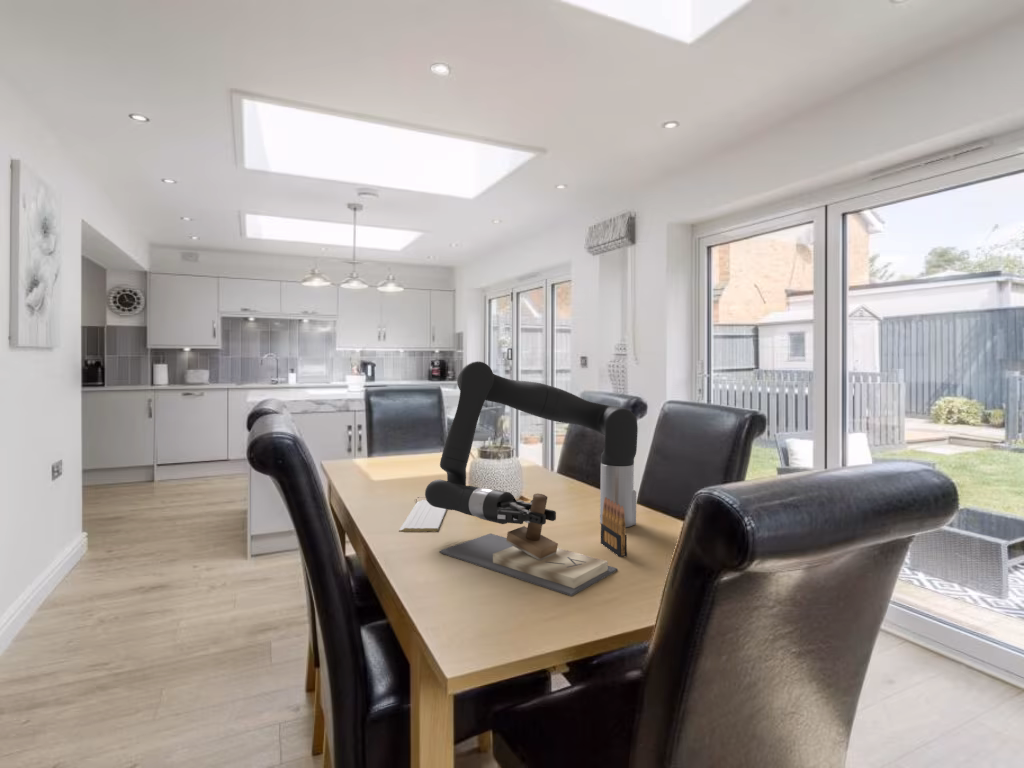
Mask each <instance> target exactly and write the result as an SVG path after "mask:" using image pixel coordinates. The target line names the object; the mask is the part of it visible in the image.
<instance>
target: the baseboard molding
mask: <svg viewBox="0 0 1024 768" xmlns="http://www.w3.org/2000/svg"><path fill="white" fill-rule="evenodd" d="M420 498H425V499H421V500H420V501H417V499H418V498H415V505H414V506H413V508H412V509H411V510H410V512H409V513H408V515H407V517H406V518H405V520H404V522H403V523H402V524H401V526H400V528H399V529H398V532H420V531H438V532H439V529H440V527H441V525H442V522H443V519H444V517H445V515H446V512H447V510H448V509H443V508H438V507H434V506H432V505H430V504H429V503H428V502H427V500H426V497H424V496H423V497H420Z"/></svg>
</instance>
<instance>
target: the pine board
mask: <svg viewBox="0 0 1024 768" xmlns="http://www.w3.org/2000/svg"><path fill="white" fill-rule="evenodd" d="M493 563H496V564H499V565H502V566H505V567H508V568H512V569H515V570H518V571H521V572H524V573H527V574H530V575H534V576H537V577H540V578H543V579H546V580H549V581H552V582H556V583H559V584H562V585H565V586H568V587H571V588H576V587H578V586H580V585H581V584H583V583H585V582H587V581H589V580H591V579H592V578H594V577H596V576H598V575H600V574H602V573H604V572H605V571H607V570H608V566H609V561H608V560H604V559H600V558H597V557H593V556H589V555H587V554H582V553H579V552H574V551H570V550H568V549H567V550H566V549H564V548H560V547H557V551H556V554H554V555H552V556H550V557H547V558H545V559H543V560H541V561H540V560H538V559H536V558H534V557H532V556H531V555H529V554H527V553H525V552H523V551H522V550H520V549H518V548H516V547H514V546H512V547H509V548H507V549H504V550H502V551H499V552H496V553H494V554H493Z"/></svg>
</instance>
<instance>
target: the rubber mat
mask: <svg viewBox="0 0 1024 768" xmlns="http://www.w3.org/2000/svg"><path fill="white" fill-rule="evenodd" d="M506 539H507V537H506V536H502V535H501V536H500V535H498V534H493V533H487V534H485V535H481V536H478V537H475V538H472V539H470V540H466V541H464V542H460V543H458V544H456V545H453V546H449V547H446V548H443V549H439V553H440V554H443V555H445V556H448V557H452V558H455V559H457V560H458V559H459V560H461V561H464V562H467V563H470V564H473V565H476V566H479V567H481V566H482V568H484V569H487V570H491V571H494V572H497V573H500V574H503V575H506V576H509V577H512V578H516V579H519V580H521V581H524V582H527V583H531V584H533V585H537V586H539V587H542V588H546V589H549V590H551V591H555V592H557V593H561V594H563V595H566V594H567V596H568V597H569V596H570V597H572V596H574V595H576V594H578V593H579V592H582V591H583V590H585V589H586V588H588V587H590V586H592V585H594V584H596V583H598V582H599V581H601V580H602V579H604V578H606V577H608V576H610V575H612V574H614V573H616V572H618V568H617V567H614V566H611V565H608V570H607V571H605V572H604V573H602V574H600V575H598V576H596V577H594V578H592V579H591V580H589V581H587V582H585V583H583V584H581V585H580V586H578V587H576V588H571V587H568V586H565V585H562V584H559V583H556V582H552V581H549V580H546V579H543V578H540V577H537V576H534V575H530V574H527V573H524V572H521V571H518V570H515V569H512V568H508V567H505V566H502V565H499V564H496V563H493V554H494V553H496V552H499V551H502V550H504V549H507V548H509V547H512V545H511V544H509V543H507V542H506ZM615 571H616V572H615Z"/></svg>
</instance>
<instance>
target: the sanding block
mask: <svg viewBox="0 0 1024 768" xmlns="http://www.w3.org/2000/svg"><path fill="white" fill-rule="evenodd" d="M531 500H532V505H531V512H537V513H541V514H544V513H545V508H546V509H547V502H548V496H547V495H545V494H542V493H534V494H533V495H532V499H531ZM542 529H543V525H541V524H537V523H533V522H530V523H527V526H525V525H523V526H520V527H518V528H514V529H512V530H510V531H509V530H508V531H507V535H506V538H507V539H506V542H507V543H509V544H511V545H512V546H514V547H516V548H518V549H520V550H522V551H523V552H525V553H527V554H529V555H531V556H532V557H534V558H536V559H538V560H540V561H541V560H543V559H545V558H547V557H550V556H552V555H554V554H556V551H557V548H558V545H559V543H558V542H556V541H554V540H552V539H550V538H548V537H546V536H544V535H543V534H542Z"/></svg>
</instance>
